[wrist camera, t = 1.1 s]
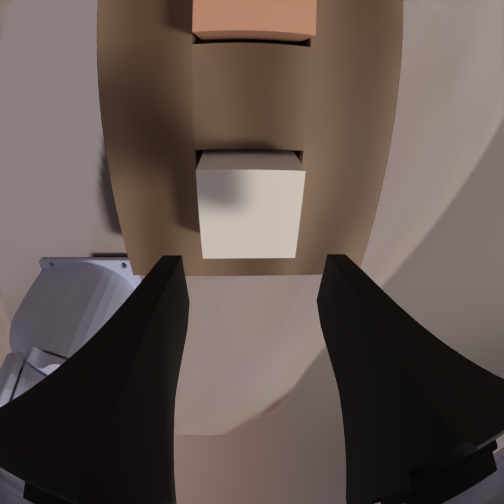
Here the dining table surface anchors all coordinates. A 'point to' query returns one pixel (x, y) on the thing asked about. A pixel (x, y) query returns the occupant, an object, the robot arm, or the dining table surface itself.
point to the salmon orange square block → (254, 19)
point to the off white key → (249, 203)
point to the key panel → (246, 124)
